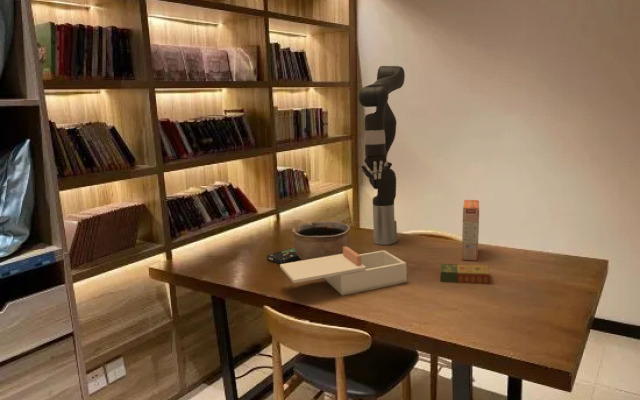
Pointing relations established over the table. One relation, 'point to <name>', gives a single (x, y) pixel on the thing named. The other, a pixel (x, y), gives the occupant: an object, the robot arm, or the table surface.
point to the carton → (465, 273)
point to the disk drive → (283, 256)
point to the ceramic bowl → (320, 239)
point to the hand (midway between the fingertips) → (376, 188)
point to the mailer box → (371, 274)
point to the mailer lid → (324, 266)
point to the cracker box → (470, 230)
